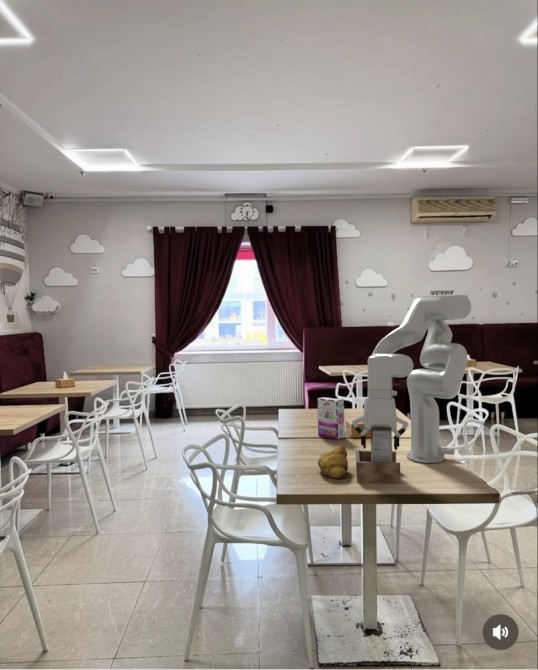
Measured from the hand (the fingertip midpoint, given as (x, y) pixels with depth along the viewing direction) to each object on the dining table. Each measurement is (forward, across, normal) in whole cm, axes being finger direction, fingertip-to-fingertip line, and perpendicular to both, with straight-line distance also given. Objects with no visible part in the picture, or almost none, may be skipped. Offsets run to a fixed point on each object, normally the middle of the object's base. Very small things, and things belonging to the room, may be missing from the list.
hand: (379, 448), depth 141 cm
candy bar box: (+8, +17, -47) cm, 51 cm away
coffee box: (+9, -1, -1) cm, 9 cm away
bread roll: (+9, +15, -1) cm, 17 cm away
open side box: (+9, +1, -1) cm, 9 cm away
